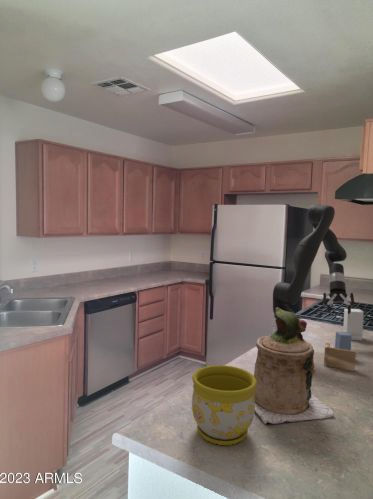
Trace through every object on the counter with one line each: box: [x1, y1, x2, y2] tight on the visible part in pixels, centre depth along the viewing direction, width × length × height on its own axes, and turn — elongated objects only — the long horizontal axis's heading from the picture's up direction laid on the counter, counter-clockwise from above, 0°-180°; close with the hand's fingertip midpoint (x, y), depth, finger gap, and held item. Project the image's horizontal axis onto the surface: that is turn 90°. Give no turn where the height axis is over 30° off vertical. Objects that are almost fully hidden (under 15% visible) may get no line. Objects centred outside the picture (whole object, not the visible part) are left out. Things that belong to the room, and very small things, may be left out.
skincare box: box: [342, 308, 365, 341], centre depth 195 cm, size 8×7×16 cm
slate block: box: [334, 331, 352, 350], centre depth 167 cm, size 5×5×11 cm
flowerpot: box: [191, 364, 257, 446], centre depth 104 cm, size 18×18×16 cm
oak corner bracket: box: [323, 339, 357, 372], centre depth 159 cm, size 11×12×8 cm
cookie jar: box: [253, 308, 334, 425], centre depth 122 cm, size 25×25×32 cm
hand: (339, 313), depth 178 cm, fingers open, 8 cm apart
